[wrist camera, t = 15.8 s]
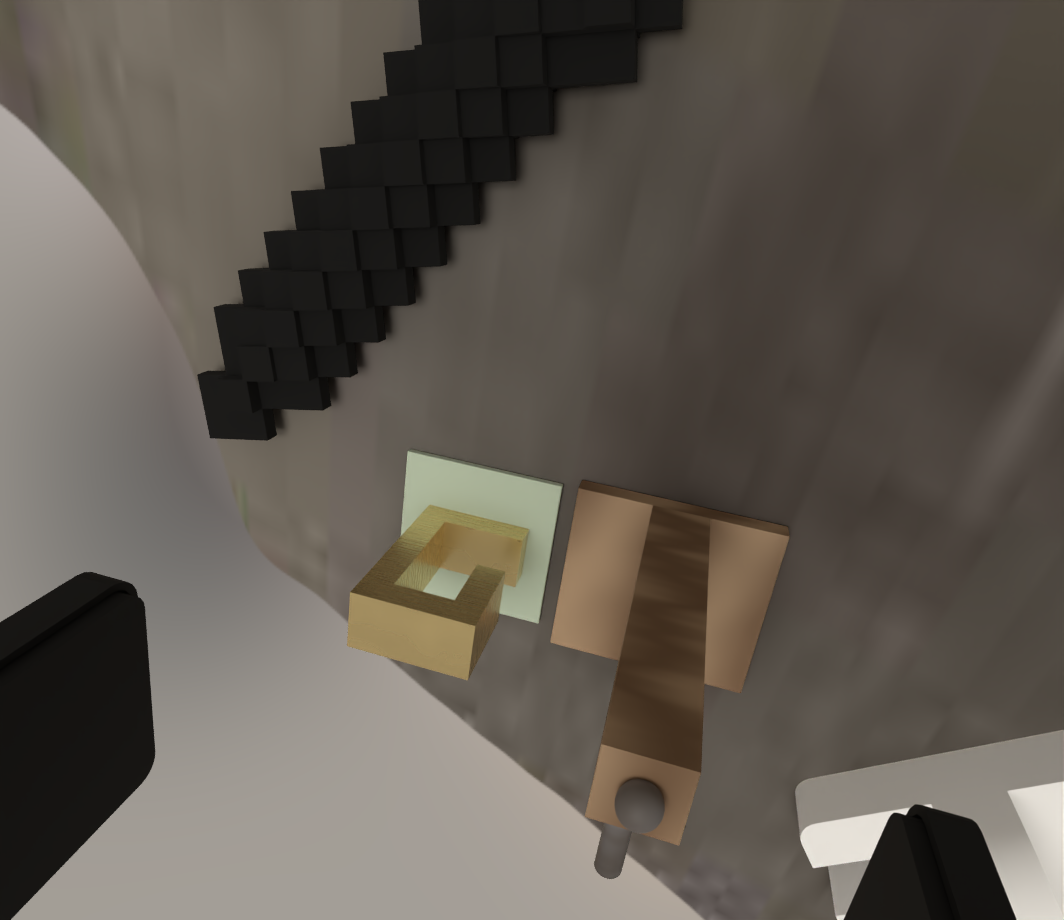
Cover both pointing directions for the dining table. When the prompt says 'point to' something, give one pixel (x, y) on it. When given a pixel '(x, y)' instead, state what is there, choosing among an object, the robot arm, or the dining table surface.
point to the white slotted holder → (959, 788)
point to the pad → (493, 500)
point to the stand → (660, 643)
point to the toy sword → (407, 189)
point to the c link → (429, 620)
